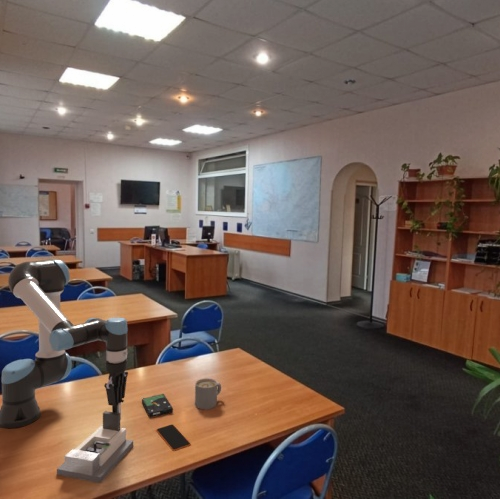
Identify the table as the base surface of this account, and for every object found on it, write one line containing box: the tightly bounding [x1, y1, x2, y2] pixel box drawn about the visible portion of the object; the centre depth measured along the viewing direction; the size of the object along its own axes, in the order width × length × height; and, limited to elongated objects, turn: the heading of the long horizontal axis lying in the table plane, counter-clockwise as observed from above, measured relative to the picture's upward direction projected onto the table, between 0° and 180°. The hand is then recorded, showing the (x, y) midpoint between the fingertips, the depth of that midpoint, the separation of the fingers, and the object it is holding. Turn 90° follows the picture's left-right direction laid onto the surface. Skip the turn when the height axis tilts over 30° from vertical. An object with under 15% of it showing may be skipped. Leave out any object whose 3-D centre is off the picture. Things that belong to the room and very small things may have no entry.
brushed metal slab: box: [64, 448, 99, 476], centre depth 129 cm, size 10×4×5 cm, turn 78°
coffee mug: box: [194, 377, 222, 410], centre depth 181 cm, size 13×10×10 cm
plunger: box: [94, 410, 121, 448], centre depth 143 cm, size 6×7×10 cm
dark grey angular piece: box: [86, 441, 109, 453], centre depth 136 cm, size 8×2×5 cm, turn 78°
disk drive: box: [141, 393, 174, 419], centre depth 175 cm, size 10×3×15 cm
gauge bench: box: [56, 424, 134, 484], centre depth 138 cm, size 16×21×6 cm
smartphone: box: [155, 423, 192, 452], centre depth 153 cm, size 8×17×1 cm, turn 36°
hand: (116, 419), depth 149 cm, fingers closed
